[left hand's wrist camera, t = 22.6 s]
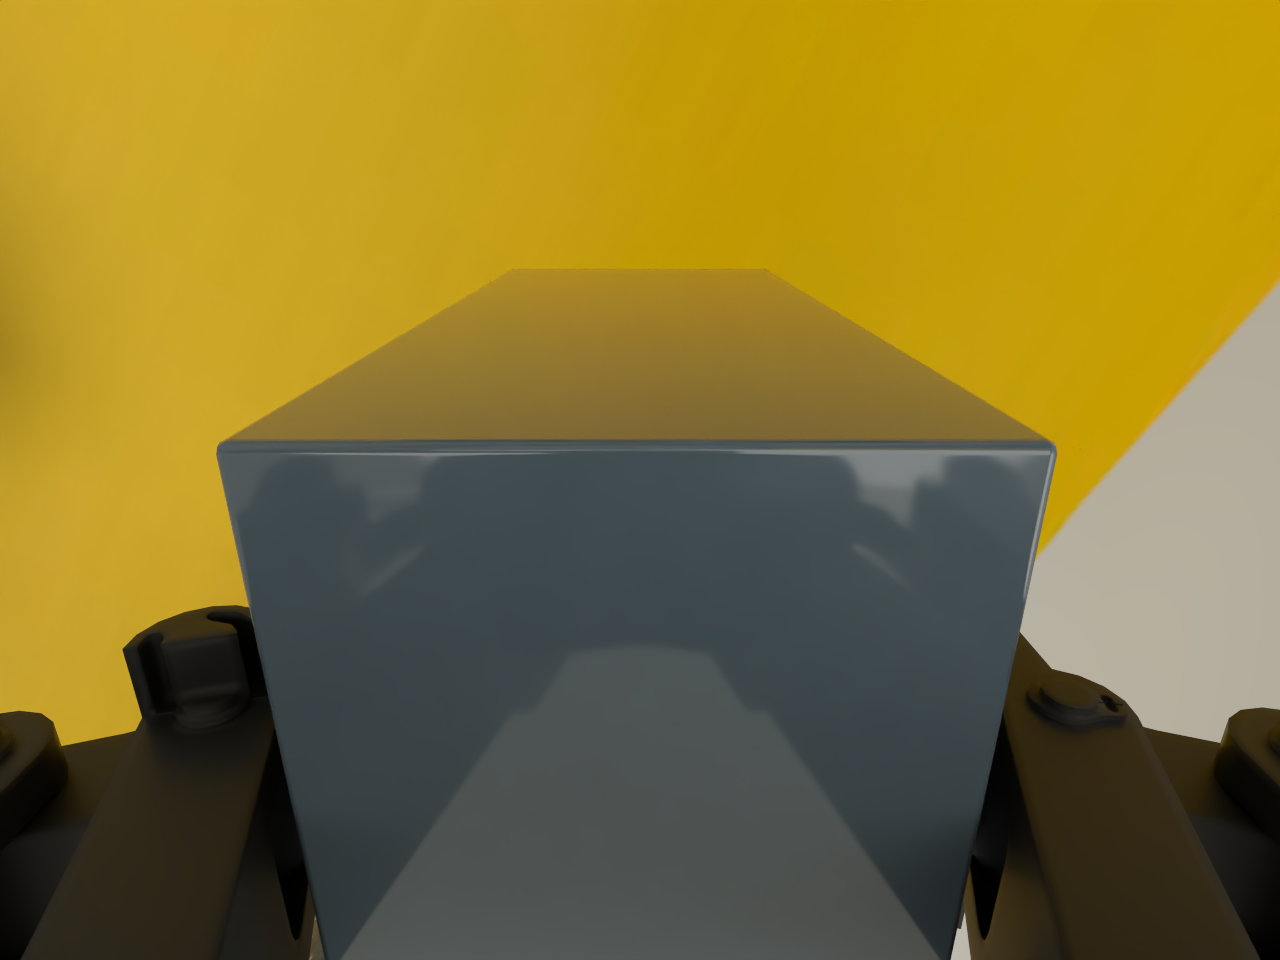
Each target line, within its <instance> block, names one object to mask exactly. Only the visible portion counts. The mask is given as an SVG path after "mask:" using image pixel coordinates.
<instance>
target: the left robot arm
mask: <svg viewBox="0 0 1280 960" xmlns="http://www.w3.org/2000/svg"><path fill="white" fill-rule="evenodd" d="M123 653H124V656H125V660H126V663H127V667H128V670H129V673H130V677H131V680H132V684H133V687H134V691H135V694H136V698H137V701H138V704H139V708H140V711H141V715H142V719H141V721H140V723H139V725H138V727H137V729H136V731H133V732H129V733H125V734H120V735H115V736H110V737H105V738H100V739H95V740H90V741H85V742H80V743H75V744H70V745H65V746H61V744H60V741H59V738H58V735H57V732H56V729H55V726H54V723H53V721H51V720H50V719H48V718H47V717H46V716H44V715H43V714H41V713H34V712H25V711H15V712H8V713H0V960H309V957H310V949H311V941H312V933H313V926H314V918H315V911H314V906H313V902H312V897H311V892H310V888H309V883H308V879H307V874H306V869H305V865H304V860H303V855H302V851H301V846H300V841H299V837H298V832H297V827H296V823H295V818H294V813H293V809H292V804H291V799H290V795H289V790H288V785H287V781H286V776H285V771H284V767H283V762H282V757H281V753H280V748H279V744H278V739H277V734H276V730H275V725H274V720H273V716H272V711H271V706H270V702H269V697H268V692H267V688H266V683H265V678H264V674H263V669H262V664H261V660H260V655H259V650H258V646H257V641H256V636H255V632H254V627H253V622H252V618H251V613H250V609H249V608H248V607H243V606H237V605H234V606H212V607H207V608H202V609H198V610H193V611H188V612H184V613H181V614H179V615H176V616H173V617H171V618H168V619H165V620H163V621H160V622H158V623H156V624H154V625H153V626H151V627H149V628H147V629H146V630H144V631H142V632H141V633H139V634H137V635H136V636H135V637H134V638H133V639H132V640H131V641H130V642H129V643H128V644H127V645H126V646H125V647H124V648H123ZM964 913H965V916H966V924H967V932H968V939H969V947H970V955H971V960H1280V710H1277V709H1269V708H1254V709H1245V710H1240V711H1239V712H1237V713H1236V714H1234V715H1233V716H1232V717H1230V718H1229V720H1228V723H1227V725H1226V728H1225V731H1224V734H1223V737H1222V740H1221V743H1217V742H1212V741H1207V740H1202V739H1197V738H1192V737H1187V736H1182V735H1177V734H1172V733H1167V732H1162V731H1157V730H1153V729H1149V728H1145V727H1143V726H1142V724H1141V722H1140V720H1139V718H1138V716H1137V715H1136V714H1135V713H1134V711H1133V710H1132V709H1131V708H1130V706H1129V705H1128V704H1127V703H1126V702H1125V701H1124V700H1123V699H1121V698H1120V697H1119V696H1117V695H1116V694H1114V693H1113V692H1111V691H1110V690H1108V689H1107V688H1105V687H1104V686H1102V685H1099V684H1097V683H1095V682H1092V681H1090V680H1088V679H1085V678H1083V677H1081V676H1078V675H1074V674H1070V673H1066V672H1062V671H1058V670H1054V669H1051V668H1050V666H1049V665H1048V664H1047V663H1046V662H1045V661H1044V659H1043V658H1042V657H1041V656H1040V655H1039V654H1038V653H1037V651H1036V650H1035V649H1034V648H1033V647H1032V646H1031V644H1030V643H1029V642H1028V641H1027V640H1026V639H1025V638H1024V636H1023V635H1022V634H1021V633H1020V632H1019V637H1018V642H1017V646H1016V651H1015V656H1014V661H1013V665H1012V670H1011V675H1010V680H1009V684H1008V689H1007V694H1006V699H1005V703H1004V708H1003V713H1002V718H1001V722H1000V727H999V732H998V737H997V741H996V746H995V751H994V756H993V760H992V765H991V770H990V775H989V779H988V784H987V789H986V794H985V798H984V803H983V808H982V813H981V817H980V822H979V827H978V832H977V836H976V841H975V846H974V850H973V855H972V860H971V865H970V869H969V874H968V879H967V884H966V888H965V893H964V898H963V903H962V907H961V912H960V917H959V922H958V926H957V928H959V929H961V926H962V921H963V916H964Z"/></svg>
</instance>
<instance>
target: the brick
mask: <svg viewBox="0 0 1280 960" xmlns="http://www.w3.org/2000/svg"><path fill="white" fill-rule="evenodd" d="M216 455H217V460H218V464H219V469H220V474H221V478H222V483H223V487H224V492H225V497H226V501H227V506H228V511H229V515H230V520H231V525H232V529H233V534H234V539H235V543H236V548H237V553H238V557H239V562H240V567H241V571H242V576H243V581H244V585H245V590H246V595H247V599H248V604H249V609H250V613H251V618H252V622H253V627H254V632H255V636H256V641H257V646H258V650H259V655H260V660H261V664H262V669H263V674H264V678H265V683H266V688H267V692H268V697H269V702H270V706H271V711H272V716H273V720H274V725H275V730H276V734H277V739H278V744H279V748H280V753H281V757H282V762H283V767H284V771H285V776H286V781H287V785H288V790H289V795H290V799H291V804H292V809H293V813H294V818H295V823H296V827H297V832H298V837H299V841H300V846H301V851H302V855H303V860H304V865H305V869H306V874H307V879H308V883H309V888H310V892H311V897H312V902H313V906H314V911H315V916H316V920H317V925H318V930H319V934H320V939H321V944H322V948H323V953H324V958H325V960H951V955H952V950H953V945H954V941H955V936H956V931H957V926H958V922H959V917H960V912H961V907H962V903H963V898H964V893H965V888H966V884H967V879H968V874H969V869H970V865H971V860H972V855H973V850H974V846H975V841H976V836H977V832H978V827H979V822H980V817H981V813H982V808H983V803H984V798H985V794H986V789H987V784H988V779H989V775H990V770H991V765H992V760H993V756H994V751H995V746H996V741H997V737H998V732H999V727H1000V722H1001V718H1002V713H1003V708H1004V703H1005V699H1006V694H1007V689H1008V684H1009V680H1010V675H1011V670H1012V665H1013V661H1014V656H1015V651H1016V646H1017V642H1018V637H1019V632H1020V627H1021V623H1022V618H1023V613H1024V608H1025V604H1026V599H1027V594H1028V589H1029V585H1030V580H1031V575H1032V570H1033V566H1034V561H1035V556H1036V552H1037V547H1038V542H1039V537H1040V533H1041V528H1042V523H1043V518H1044V514H1045V509H1046V504H1047V499H1048V495H1049V490H1050V485H1051V480H1052V476H1053V471H1054V466H1055V461H1056V457H1057V450H1056V445H1055V443H1054V442H1053V441H1051V440H1050V439H1048V438H1046V437H1045V436H1043V435H1041V434H1040V433H1038V432H1036V431H1035V430H1033V429H1031V428H1030V427H1028V426H1026V425H1025V424H1023V423H1021V422H1020V421H1018V420H1016V419H1015V418H1013V417H1011V416H1010V415H1008V414H1006V413H1005V412H1003V411H1001V410H1000V409H998V408H996V407H995V406H993V405H991V404H990V403H988V402H986V401H985V400H983V399H981V398H980V397H978V396H976V395H975V394H973V393H971V392H970V391H968V390H966V389H965V388H963V387H961V386H960V385H958V384H956V383H955V382H953V381H951V380H950V379H948V378H946V377H945V376H943V375H941V374H940V373H938V372H936V371H935V370H933V369H931V368H930V367H928V366H926V365H925V364H923V363H921V362H920V361H918V360H916V359H915V358H913V357H911V356H910V355H908V354H906V353H905V352H903V351H901V350H900V349H898V348H896V347H895V346H893V345H891V344H890V343H888V342H886V341H885V340H883V339H881V338H880V337H878V336H876V335H875V334H873V333H871V332H870V331H868V330H866V329H865V328H863V327H861V326H860V325H858V324H856V323H855V322H853V321H851V320H850V319H848V318H846V317H845V316H843V315H841V314H840V313H838V312H836V311H835V310H833V309H831V308H830V307H828V306H826V305H825V304H823V303H821V302H820V301H818V300H816V299H815V298H813V297H811V296H810V295H808V294H806V293H805V292H803V291H801V290H800V289H798V288H796V287H795V286H793V285H791V284H790V283H788V282H786V281H785V280H783V279H781V278H780V277H778V276H776V275H775V274H773V273H771V272H770V271H768V270H766V269H512V270H510V271H508V272H506V273H505V274H503V275H501V276H499V277H498V278H496V279H494V280H493V281H491V282H489V283H488V284H486V285H484V286H483V287H481V288H479V289H478V290H476V291H474V292H473V293H471V294H469V295H467V296H466V297H464V298H462V299H461V300H459V301H457V302H456V303H454V304H452V305H451V306H449V307H447V308H446V309H444V310H442V311H440V312H439V313H437V314H435V315H434V316H432V317H430V318H429V319H427V320H425V321H424V322H422V323H420V324H419V325H417V326H415V327H414V328H412V329H410V330H408V331H407V332H405V333H403V334H402V335H400V336H398V337H397V338H395V339H393V340H392V341H390V342H388V343H387V344H385V345H383V346H381V347H380V348H378V349H376V350H375V351H373V352H371V353H370V354H368V355H366V356H365V357H363V358H361V359H360V360H358V361H356V362H355V363H353V364H351V365H349V366H348V367H346V368H344V369H343V370H341V371H339V372H338V373H336V374H334V375H333V376H331V377H329V378H328V379H326V380H324V381H322V382H321V383H319V384H317V385H316V386H314V387H312V388H311V389H309V390H307V391H306V392H304V393H302V394H301V395H299V396H297V397H295V398H294V399H292V400H290V401H289V402H287V403H285V404H284V405H282V406H280V407H279V408H277V409H275V410H274V411H272V412H270V413H269V414H267V415H265V416H263V417H262V418H260V419H258V420H257V421H255V422H253V423H252V424H250V425H248V426H247V427H245V428H243V429H242V430H240V431H238V432H236V433H235V434H233V435H231V436H230V437H228V438H226V439H225V440H223V441H221V442H220V443H219V445H218V447H217V454H216Z"/></svg>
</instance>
